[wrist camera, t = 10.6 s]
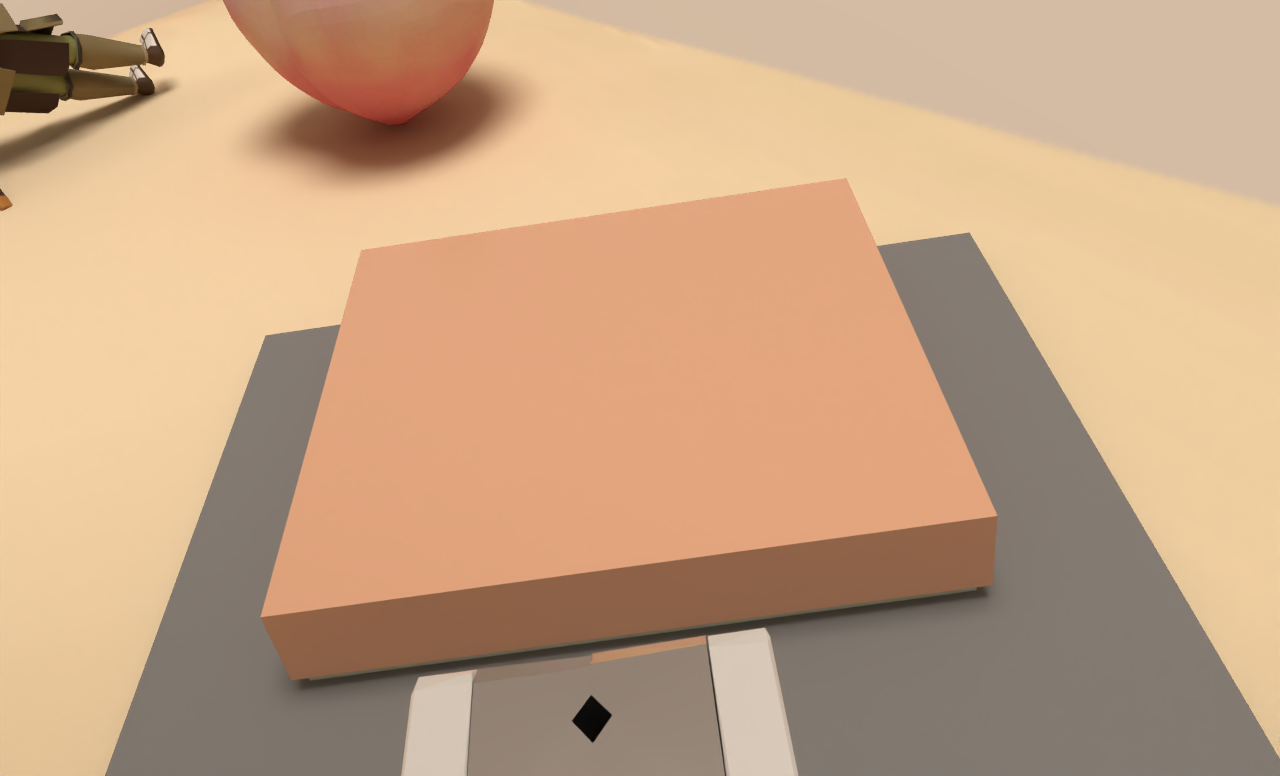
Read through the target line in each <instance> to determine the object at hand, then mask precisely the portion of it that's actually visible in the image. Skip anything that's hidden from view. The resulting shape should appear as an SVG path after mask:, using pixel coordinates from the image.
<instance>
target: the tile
mask: <svg viewBox="0 0 1280 776" xmlns="http://www.w3.org/2000/svg"><path fill="white" fill-rule="evenodd" d="M997 517H998V516H997V513H996V511H995V509H994V507H993V505H992V502H991V500H990V498H989V496H988V493H987V491H986V489H985V487H984V484H983V482H982V480H981V478H980V476H979V473H978V471H977V469H976V467H975V464H974V462H973V460H972V458H971V455H970V453H969V451H968V449H967V447H966V444H965V442H964V440H963V438H962V435H961V433H960V431H959V429H958V426H957V424H956V422H955V420H954V418H953V415H952V413H951V411H950V409H949V406H948V404H947V402H946V400H945V397H944V395H943V393H942V391H941V388H940V386H939V384H938V382H937V380H936V377H935V375H934V373H933V371H932V368H931V366H930V364H929V362H928V359H927V357H926V355H925V353H924V351H923V348H922V346H921V344H920V342H919V339H918V337H917V335H916V333H915V330H914V328H913V326H912V324H911V322H910V319H909V317H908V315H907V313H906V310H905V308H904V306H903V304H902V301H901V299H900V297H899V295H898V293H897V290H896V288H895V286H894V284H893V281H892V279H891V277H890V275H889V272H888V270H887V268H886V266H885V264H884V261H883V259H882V257H881V255H880V252H879V250H878V248H877V246H876V243H875V241H874V239H873V237H872V235H871V232H870V230H869V228H868V226H867V223H866V221H865V219H864V217H863V214H862V212H861V210H860V208H859V205H858V203H857V201H856V199H855V197H854V194H853V192H852V190H851V188H850V185H849V183H848V181H847V179H846V178H845V179H838V180H831V181H825V182H818V183H811V184H804V185H798V186H791V187H784V188H777V189H771V190H764V191H757V192H750V193H744V194H737V195H730V196H724V197H717V198H710V199H703V200H697V201H690V202H683V203H676V204H670V205H663V206H656V207H649V208H643V209H636V210H629V211H622V212H616V213H609V214H602V215H596V216H589V217H582V218H575V219H569V220H562V221H555V222H548V223H542V224H535V225H528V226H521V227H515V228H508V229H501V230H494V231H488V232H481V233H474V234H467V235H461V236H454V237H447V238H441V239H434V240H427V241H420V242H414V243H407V244H400V245H393V246H387V247H380V248H373V249H366V250H361V253H360V257H359V260H358V264H357V268H356V271H355V275H354V279H353V282H352V286H351V290H350V293H349V297H348V300H347V304H346V308H345V311H344V315H343V319H342V322H341V326H340V330H339V333H338V337H337V340H336V344H335V348H334V351H333V355H332V359H331V362H330V366H329V370H328V373H327V377H326V380H325V384H324V388H323V391H322V395H321V399H320V402H319V406H318V410H317V413H316V417H315V421H314V424H313V428H312V431H311V435H310V439H309V442H308V446H307V450H306V453H305V457H304V461H303V464H302V468H301V471H300V475H299V479H298V482H297V486H296V490H295V493H294V497H293V501H292V504H291V508H290V511H289V515H288V519H287V522H286V526H285V530H284V533H283V537H282V541H281V544H280V548H279V552H278V555H277V559H276V562H275V566H274V570H273V573H272V577H271V581H270V584H269V588H268V592H267V595H266V599H265V602H264V606H263V610H262V613H261V617H260V618H261V620H262V622H263V624H264V626H265V628H266V630H267V632H268V634H269V636H270V638H271V640H272V642H273V644H274V646H275V648H276V650H277V652H278V654H279V656H280V658H281V660H282V662H283V665H284V667H285V669H286V671H287V673H288V675H289V677H290V679H291V680H298V679H305V678H309V680H310V681H312V680H319V679H327V678H334V677H341V676H349V675H356V674H363V673H371V672H378V671H386V670H393V669H400V668H408V667H415V666H423V665H430V664H437V663H445V662H452V661H459V660H467V659H474V658H482V657H489V656H496V655H504V654H511V653H518V652H526V651H533V650H541V649H548V648H555V647H563V646H570V645H577V644H585V643H592V642H600V641H607V640H614V639H622V638H629V637H636V636H644V635H651V634H659V633H666V632H673V631H681V630H688V629H695V628H703V627H710V626H718V625H725V624H732V623H740V622H747V621H754V620H762V619H769V618H777V617H784V616H791V615H799V614H806V613H813V612H821V611H828V610H836V609H843V608H850V607H858V606H865V605H872V604H880V603H887V602H895V601H902V600H909V599H917V598H924V597H931V596H939V595H946V594H954V593H961V592H968V591H976V590H977V587H983V586H991V585H993V574H994V560H995V546H996V531H997Z"/></svg>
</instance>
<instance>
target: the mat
mask: <svg viewBox="0 0 1280 776" xmlns="http://www.w3.org/2000/svg"><path fill="white" fill-rule="evenodd" d="M877 248H878V250H879V252H880V255H881V257H882V259H883V261H884V264H885V266H886V268H887V270H888V272H889V275H890V277H891V279H892V281H893V284H894V286H895V288H896V290H897V293H898V295H899V297H900V299H901V301H902V304H903V306H904V308H905V310H906V313H907V315H908V317H909V319H910V322H911V324H912V326H913V328H914V330H915V333H916V335H917V337H918V339H919V342H920V344H921V346H922V348H923V351H924V353H925V355H926V357H927V359H928V362H929V364H930V366H931V368H932V371H933V373H934V375H935V377H936V380H937V382H938V384H939V386H940V388H941V391H942V393H943V395H944V397H945V400H946V402H947V404H948V406H949V409H950V411H951V413H952V415H953V418H954V420H955V422H956V424H957V426H958V429H959V431H960V433H961V435H962V438H963V440H964V442H965V444H966V447H967V449H968V451H969V453H970V455H971V458H972V460H973V462H974V464H975V467H976V469H977V471H978V473H979V476H980V478H981V480H982V482H983V484H984V487H985V489H986V491H987V493H988V496H989V498H990V500H991V502H992V505H993V507H994V509H995V511H996V513H997V516H998V517H997V531H996V546H995V560H994V574H993V585H991V586H983V587H977V590H976V591H968V592H961V593H954V594H946V595H939V596H931V597H924V598H917V599H909V600H902V601H895V602H887V603H880V604H872V605H865V606H858V607H850V608H843V609H836V610H828V611H821V612H813V613H806V614H799V615H791V616H784V617H777V618H769V619H762V620H754V621H747V622H740V623H732V624H725V625H718V626H710V627H703V628H695V629H688V630H681V631H673V632H666V633H659V634H651V635H644V636H636V637H629V638H622V639H614V640H607V641H600V642H592V643H585V644H577V645H570V646H563V647H555V648H548V649H541V650H533V651H526V652H518V653H511V654H504V655H496V656H489V657H482V658H474V659H467V660H459V661H452V662H445V663H437V664H430V665H423V666H415V667H408V668H400V669H393V670H386V671H378V672H371V673H363V674H356V675H349V676H341V677H334V678H327V679H319V680H312V681H310V680H309V678H305V679H298V680H291V679H290V677H289V675H288V673H287V671H286V669H285V667H284V665H283V662H282V660H281V658H280V656H279V654H278V652H277V650H276V648H275V646H274V644H273V642H272V640H271V638H270V636H269V634H268V632H267V630H266V628H265V626H264V624H263V622H262V620H261V618H260V617H261V613H262V610H263V606H264V602H265V599H266V595H267V592H268V588H269V584H270V581H271V577H272V573H273V570H274V566H275V562H276V559H277V555H278V552H279V548H280V544H281V541H282V537H283V533H284V530H285V526H286V522H287V519H288V515H289V511H290V508H291V504H292V501H293V497H294V493H295V490H296V486H297V482H298V479H299V475H300V471H301V468H302V464H303V461H304V457H305V453H306V450H307V446H308V442H309V439H310V435H311V431H312V428H313V424H314V421H315V417H316V413H317V410H318V406H319V402H320V399H321V395H322V391H323V388H324V384H325V380H326V377H327V373H328V370H329V366H330V362H331V359H332V355H333V351H334V348H335V344H336V340H337V337H338V333H339V330H340V326H341V325H335V326H328V327H321V328H314V329H307V330H301V331H294V332H287V333H280V334H273V335H266V336H265V339H264V341H263V344H262V347H261V350H260V352H259V355H258V358H257V361H256V363H255V366H254V369H253V372H252V374H251V377H250V380H249V383H248V385H247V388H246V391H245V394H244V396H243V399H242V402H241V405H240V407H239V410H238V413H237V415H236V418H235V421H234V424H233V426H232V429H231V432H230V435H229V437H228V440H227V443H226V446H225V448H224V451H223V454H222V457H221V459H220V462H219V465H218V468H217V470H216V473H215V476H214V478H213V481H212V484H211V487H210V489H209V492H208V495H207V498H206V500H205V503H204V506H203V509H202V511H201V514H200V517H199V520H198V522H197V525H196V528H195V531H194V533H193V536H192V539H191V542H190V544H189V547H188V550H187V552H186V555H185V558H184V561H183V563H182V566H181V569H180V572H179V574H178V577H177V580H176V583H175V585H174V588H173V591H172V594H171V596H170V599H169V602H168V605H167V607H166V610H165V613H164V616H163V618H162V621H161V624H160V626H159V629H158V632H157V635H156V637H155V640H154V643H153V646H152V648H151V651H150V654H149V657H148V659H147V662H146V665H145V668H144V670H143V673H142V676H141V679H140V681H139V684H138V687H137V690H136V692H135V695H134V698H133V700H132V703H131V706H130V709H129V711H128V714H127V717H126V720H125V722H124V725H123V728H122V731H121V733H120V736H119V739H118V742H117V744H116V747H115V750H114V753H113V755H112V758H111V761H110V763H109V766H108V769H107V772H106V774H105V776H401V774H402V766H403V758H404V749H405V741H406V733H407V725H408V717H409V709H410V700H411V694H412V692H413V690H414V687H415V685H416V683H417V680H418V678H419V677H424V676H432V675H440V674H447V673H455V672H463V671H470V670H477V669H483V668H491V667H499V666H508V665H516V664H524V663H533V662H541V661H550V660H558V659H566V658H575V657H583V656H591V655H592V653H598V652H605V651H611V650H617V649H623V648H630V647H636V646H642V645H649V644H655V643H661V642H668V641H674V640H680V639H687V638H693V637H699V636H705V635H706V641H707V646H708V636H712V635H719V634H725V633H732V632H739V631H746V630H753V629H759V628H766V630H767V632H768V634H769V636H770V638H771V643H772V648H773V653H774V658H775V663H776V668H777V673H778V677H779V682H780V687H781V692H782V697H783V702H784V707H785V712H786V717H787V722H788V727H789V732H790V736H791V741H792V746H793V751H794V756H795V761H796V766H797V771H798V776H1280V759H1279V757H1278V755H1277V754H1276V752H1275V750H1274V748H1273V747H1272V745H1271V743H1270V742H1269V740H1268V738H1267V737H1266V735H1265V733H1264V731H1263V730H1262V728H1261V726H1260V725H1259V723H1258V721H1257V720H1256V718H1255V716H1254V715H1253V713H1252V711H1251V709H1250V708H1249V706H1248V704H1247V703H1246V701H1245V699H1244V698H1243V696H1242V694H1241V692H1240V691H1239V689H1238V687H1237V686H1236V684H1235V682H1234V681H1233V679H1232V677H1231V676H1230V674H1229V672H1228V670H1227V669H1226V667H1225V665H1224V664H1223V662H1222V660H1221V659H1220V657H1219V655H1218V653H1217V652H1216V650H1215V648H1214V647H1213V645H1212V643H1211V642H1210V640H1209V638H1208V636H1207V635H1206V633H1205V631H1204V630H1203V628H1202V626H1201V625H1200V623H1199V621H1198V620H1197V618H1196V616H1195V614H1194V613H1193V611H1192V609H1191V608H1190V606H1189V604H1188V603H1187V601H1186V599H1185V597H1184V596H1183V594H1182V592H1181V591H1180V589H1179V587H1178V586H1177V584H1176V582H1175V581H1174V579H1173V577H1172V575H1171V574H1170V572H1169V570H1168V569H1167V567H1166V565H1165V564H1164V562H1163V560H1162V558H1161V557H1160V555H1159V553H1158V552H1157V550H1156V548H1155V547H1154V545H1153V543H1152V542H1151V540H1150V538H1149V536H1148V535H1147V533H1146V531H1145V530H1144V528H1143V526H1142V525H1141V523H1140V521H1139V519H1138V518H1137V516H1136V514H1135V513H1134V511H1133V509H1132V508H1131V506H1130V504H1129V502H1128V501H1127V499H1126V497H1125V496H1124V494H1123V492H1122V491H1121V489H1120V487H1119V486H1118V484H1117V482H1116V480H1115V479H1114V477H1113V475H1112V474H1111V472H1110V470H1109V469H1108V467H1107V465H1106V463H1105V462H1104V460H1103V458H1102V457H1101V455H1100V453H1099V452H1098V450H1097V448H1096V447H1095V445H1094V443H1093V441H1092V440H1091V438H1090V436H1089V435H1088V433H1087V431H1086V430H1085V428H1084V426H1083V424H1082V423H1081V421H1080V419H1079V418H1078V416H1077V414H1076V413H1075V411H1074V409H1073V408H1072V406H1071V404H1070V402H1069V401H1068V399H1067V397H1066V396H1065V394H1064V392H1063V391H1062V389H1061V387H1060V385H1059V384H1058V382H1057V380H1056V379H1055V377H1054V375H1053V374H1052V372H1051V370H1050V368H1049V367H1048V365H1047V363H1046V362H1045V360H1044V358H1043V357H1042V355H1041V353H1040V352H1039V350H1038V348H1037V346H1036V345H1035V343H1034V341H1033V340H1032V338H1031V336H1030V335H1029V333H1028V331H1027V329H1026V328H1025V326H1024V324H1023V323H1022V321H1021V319H1020V318H1019V316H1018V314H1017V313H1016V311H1015V309H1014V307H1013V306H1012V304H1011V302H1010V301H1009V299H1008V297H1007V296H1006V294H1005V292H1004V290H1003V289H1002V287H1001V285H1000V284H999V282H998V280H997V279H996V277H995V275H994V274H993V272H992V270H991V268H990V267H989V265H988V263H987V262H986V260H985V258H984V257H983V255H982V253H981V251H980V250H979V248H978V246H977V245H976V243H975V241H974V240H973V238H972V236H971V234H970V233H964V234H957V235H950V236H943V237H937V238H930V239H923V240H916V241H909V242H902V243H896V244H889V245H882V246H877ZM708 652H709V649H708ZM709 658H710V656H709ZM710 664H711V662H710ZM711 670H712V669H711ZM712 676H713V675H712Z"/></svg>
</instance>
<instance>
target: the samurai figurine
mask: <svg viewBox="0 0 1280 776" xmlns="http://www.w3.org/2000/svg"><path fill="white" fill-rule="evenodd" d="M62 24H63V21H62V19H61V18H60V17H59V16H58V15H57V14H54V15H49V16H44V17H38V18H33V19H28V20H22V21H20V24H19V25H15V23H14V21H13V20H12V18H11V16H10V15H9V13H8V12H7V10H6V9H5V7H4V6H3V4H0V115H4V113H5V112H26V113H50V112H51V111H52V110H54V109H55V108H56V107H58V101H59V99H61V100H64V101H67V100H68V99H75V100H89V99H97V98H106V97H114V96H123V95H135V94H138V93H140V94H144V95H148V94H152V93H154V89H155V87H154V84H153V82H152V80H151V79H150V78H149V77H148V76H147V74H146V73H145V72H144V71H143V69H142V68H141V67H140V65H141V64H142V65H146V63H150V64H153V65H156V66H159V67H161V66H163V64H164V59H165V55H164V52H163V50H162V48H161V46H160V44H159V42H158V40H157V38H156V36H155V34H154V32H153V29H152V28H146V29H145V30H144V31H143V33H142V35H141V38H140V42H141V43H142V45H135V44H130V43H125V42H120V41H115V40H110V39H105V38H100V37H95V36H90V35H82V34H75V33H74V31H69V32H65V33H62V34H61V35H60V36H56V35H51V33H52V30H53V28H54V26H57V25H62ZM69 65H70V66H71V67H72V68H73V69H69ZM123 66H131V68H130V74H129V77H125V76H118V75H110V74H103V73H96V72H89V71H82V70H79V68H80V67H82V68H87V69H93V70H95V69H105V68H114V67H123ZM74 69H75V70H74ZM11 206H12V204H11V202H10V201H9V199H8V198H7V196H5V194H4V193H3V192H2V190H1V189H0V209H1V210H5V209H7V208H9V207H11Z"/></svg>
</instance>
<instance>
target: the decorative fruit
mask: <svg viewBox="0 0 1280 776" xmlns="http://www.w3.org/2000/svg"><path fill="white" fill-rule="evenodd" d="M223 2H224V4H225V6H226V8H227V10H228V12H229V14H230V16H231V18H232V19H233V21H234V22H235V24H236V25H237V27H238V28H239V30H240V31H241V32H242V34H243V35H244V36H245V38H246V39H247V40H248V41H249V42H250V43H251V45H252V46H253V47H254V48H255V49H256V50H257V51H258V52H259V54H260V55H261V56H262V57H263V58H264V59H265V60H266V61H267V62H268V63H269V64H270V65H271V66H272V67H273V68H274V69H275V70H276V71H277V72H278V73H279V74H280V75H281V76H283V77H284V78H285V79H286V80H288V81H289V82H290V83H291V84H293V85H294V86H296V87H297V88H299V89H300V90H302V91H303V92H305V93H306V94H308V95H310V96H311V97H313V98H315V99H317V100H319V101H321V102H323V103H325V104H327V105H330V106H332V107H334V108H337V109H341V110H345V111H348V112H351V113H354V114H356V115H359V116H361V117H364V118H367V119H371V120H374V121H378V122H381V123H384V124H390V125H399V124H404V123H405V122H407V121H408V120H410V119H411V118H413V117H414V116H415V115H417V114H419V113H420V112H422V111H424V110H425V109H426V108H428V107H429V106H431V105H432V104H433V103H435V102H436V101H437V100H439V99H440V98H441V97H443V96H444V95H446V94H447V93H448V92H449V91H450V90H451V89H452V88H453V87H454V86H455V85H456V84H458V82H459V81H460V80H461V79H462V78H463V77H464V75H465V74H466V72H467V71H468V69H469V68H470V66H471V64H472V63H473V61H474V59H475V58H476V56H477V54H478V52H479V50H480V48H481V46H482V44H483V41H484V38H485V35H486V33H487V29H488V26H489V22H490V18H491V13H492V8H493V3H494V0H223Z"/></svg>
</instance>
